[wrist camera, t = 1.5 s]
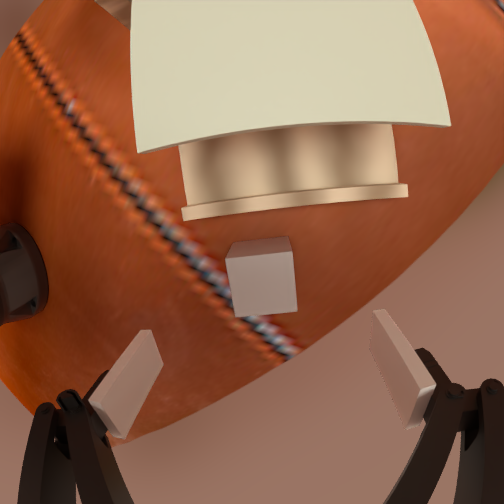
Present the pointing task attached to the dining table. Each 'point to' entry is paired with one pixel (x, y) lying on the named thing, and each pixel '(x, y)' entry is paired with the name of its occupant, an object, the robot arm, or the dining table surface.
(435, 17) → the dining table surface
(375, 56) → the flap
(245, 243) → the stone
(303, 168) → the stand
